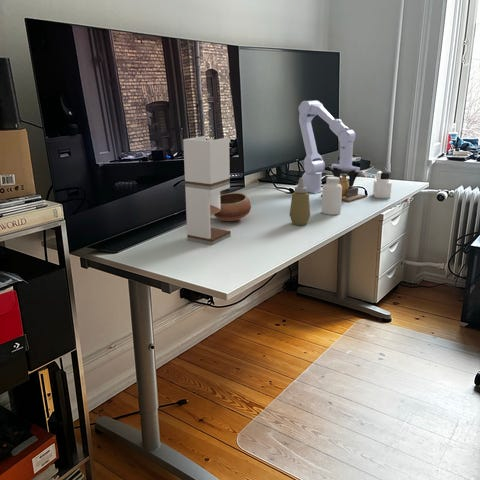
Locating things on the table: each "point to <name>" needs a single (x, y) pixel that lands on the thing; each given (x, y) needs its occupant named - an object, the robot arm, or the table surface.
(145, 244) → the table surface
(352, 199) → the bottle rest
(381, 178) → the medicine bottle
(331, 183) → the pill bottle
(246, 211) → the bowl
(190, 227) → the white tower
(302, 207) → the squeeze bottle
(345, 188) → the amber bottle
